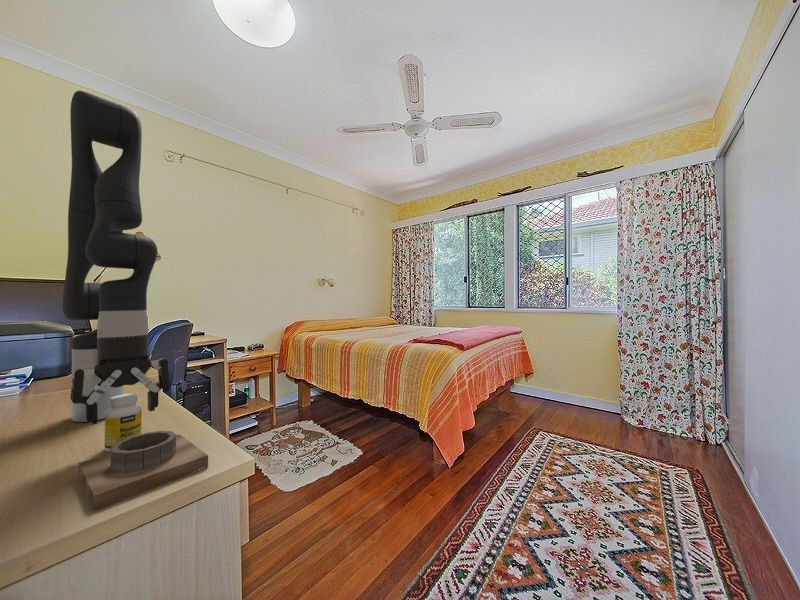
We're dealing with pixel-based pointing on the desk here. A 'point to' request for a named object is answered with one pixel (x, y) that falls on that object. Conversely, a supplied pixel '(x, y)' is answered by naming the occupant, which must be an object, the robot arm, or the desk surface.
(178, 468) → the cup bracket
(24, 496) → the desk surface
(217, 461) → the desk surface
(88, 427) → the desk surface
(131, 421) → the supplement bottle
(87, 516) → the desk surface
